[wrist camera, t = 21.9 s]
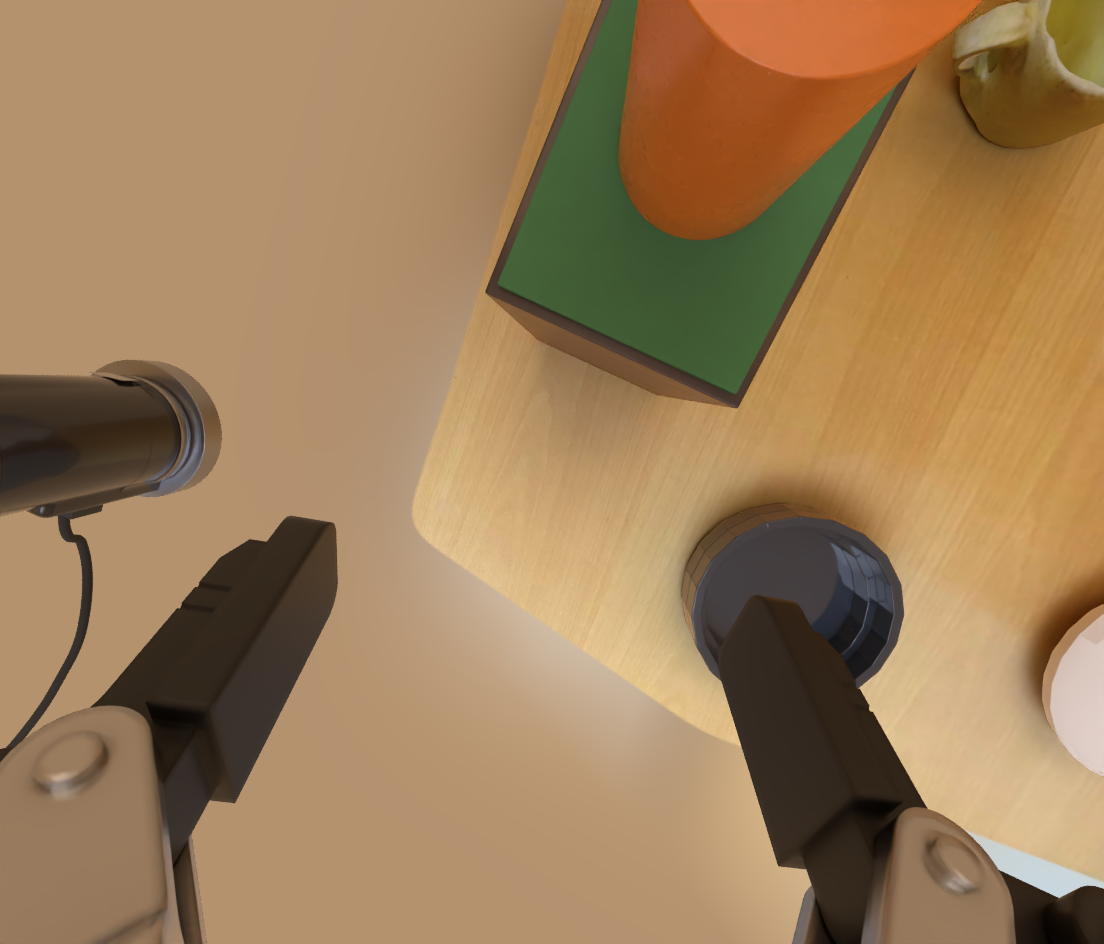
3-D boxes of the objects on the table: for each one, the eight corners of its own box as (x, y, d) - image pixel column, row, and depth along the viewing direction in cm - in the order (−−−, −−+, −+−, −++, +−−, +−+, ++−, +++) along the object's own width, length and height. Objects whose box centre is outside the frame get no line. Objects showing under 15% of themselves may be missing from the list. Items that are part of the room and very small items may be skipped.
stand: (658, 395, 38) (737, 409, 18) (537, 339, 37) (484, 292, 18) (748, 211, 35) (956, -10, 15) (618, 151, 35) (661, -151, 15)
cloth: (733, 394, 18) (736, 394, 17) (498, 286, 18) (497, 283, 17) (938, -1, 15) (947, -11, 15) (667, -130, 15) (669, -143, 15)
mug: (1183, -50, 29) (1372, -158, 21) (1083, 156, 34) (1202, 138, 26) (946, -42, 32) (1026, -134, 23) (884, 148, 37) (933, 129, 28)
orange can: (741, 268, 17) (917, 140, 8) (589, 197, 17) (594, -13, 8) (827, 95, 16) (1142, -279, 7) (665, 19, 16) (771, -458, 7)
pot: (808, 700, 41) (835, 738, 37) (650, 628, 41) (657, 658, 36) (903, 549, 38) (945, 570, 34) (734, 471, 38) (753, 483, 34)
